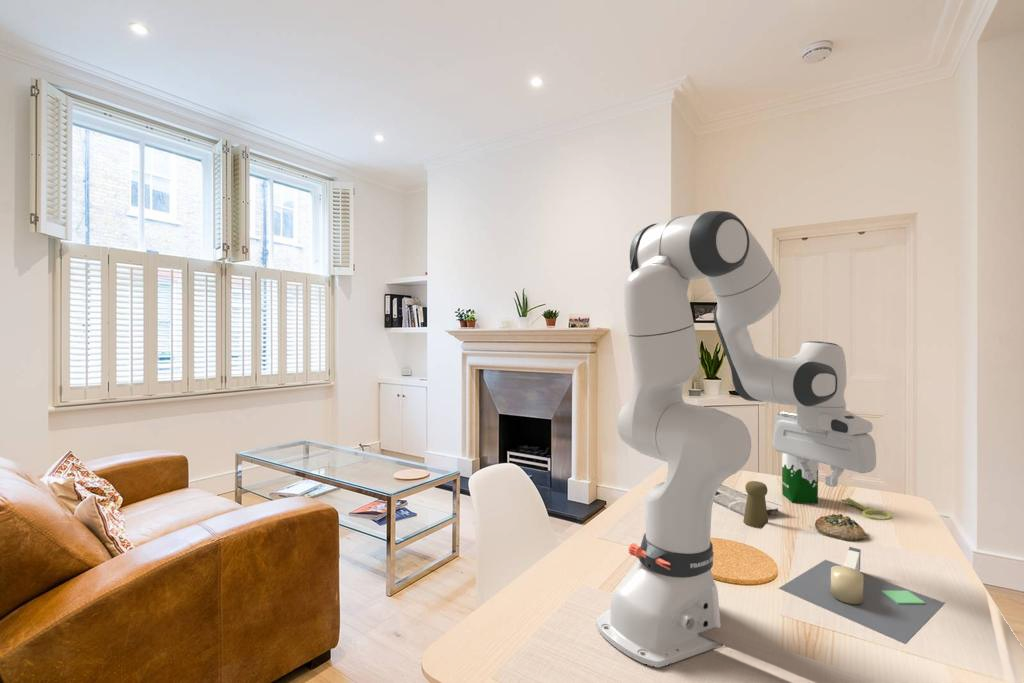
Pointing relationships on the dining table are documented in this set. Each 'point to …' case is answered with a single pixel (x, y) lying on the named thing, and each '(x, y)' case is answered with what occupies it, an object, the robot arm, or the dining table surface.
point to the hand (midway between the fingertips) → (819, 482)
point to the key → (868, 511)
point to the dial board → (868, 602)
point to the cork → (756, 505)
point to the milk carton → (798, 481)
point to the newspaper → (739, 500)
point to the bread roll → (839, 527)
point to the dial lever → (848, 579)
